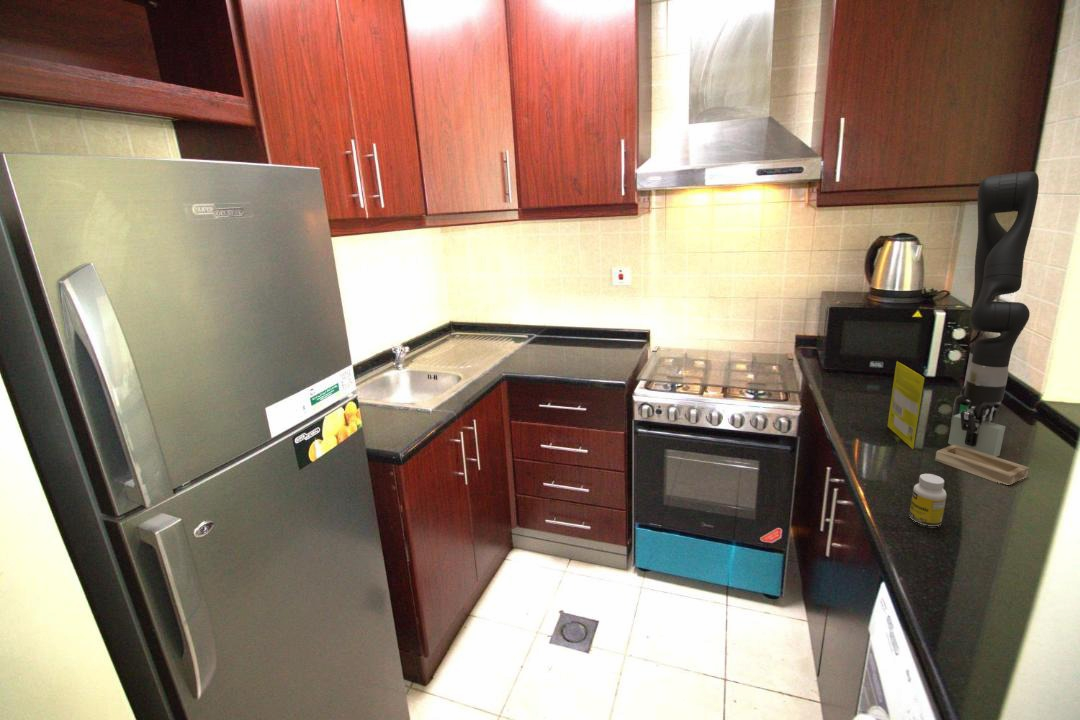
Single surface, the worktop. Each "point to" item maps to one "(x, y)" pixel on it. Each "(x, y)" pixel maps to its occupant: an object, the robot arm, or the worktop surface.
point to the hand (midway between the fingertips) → (974, 443)
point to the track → (982, 464)
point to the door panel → (979, 436)
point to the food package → (905, 403)
